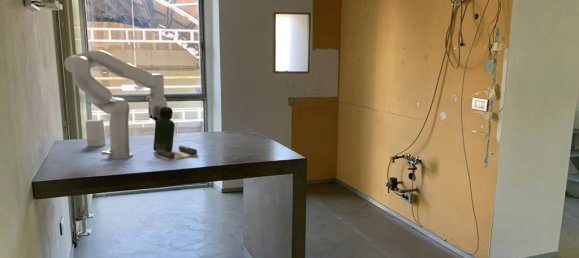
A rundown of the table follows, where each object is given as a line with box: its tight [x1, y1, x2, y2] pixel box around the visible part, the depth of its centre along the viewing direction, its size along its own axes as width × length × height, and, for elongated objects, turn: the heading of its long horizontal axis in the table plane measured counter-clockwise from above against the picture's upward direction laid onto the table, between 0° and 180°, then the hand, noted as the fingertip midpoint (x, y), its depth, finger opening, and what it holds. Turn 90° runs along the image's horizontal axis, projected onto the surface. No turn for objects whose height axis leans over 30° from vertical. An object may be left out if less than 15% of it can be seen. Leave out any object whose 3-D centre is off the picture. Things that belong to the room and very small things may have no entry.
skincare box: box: [84, 119, 106, 148], centre depth 261 cm, size 8×7×16 cm
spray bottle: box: [152, 106, 176, 152], centre depth 245 cm, size 10×10×25 cm
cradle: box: [154, 145, 199, 162], centre depth 238 cm, size 18×14×4 cm
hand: (158, 127), depth 250 cm, fingers closed
